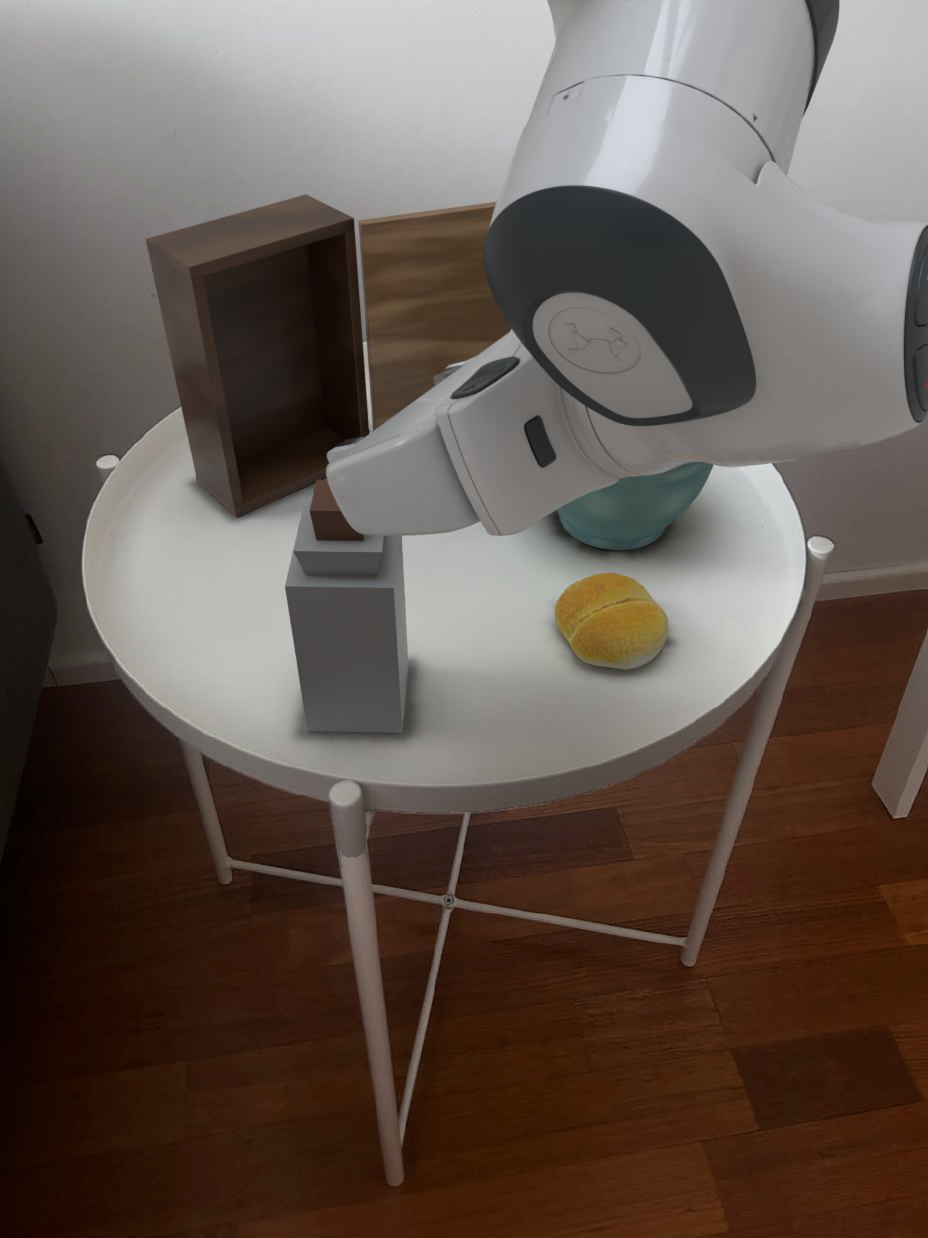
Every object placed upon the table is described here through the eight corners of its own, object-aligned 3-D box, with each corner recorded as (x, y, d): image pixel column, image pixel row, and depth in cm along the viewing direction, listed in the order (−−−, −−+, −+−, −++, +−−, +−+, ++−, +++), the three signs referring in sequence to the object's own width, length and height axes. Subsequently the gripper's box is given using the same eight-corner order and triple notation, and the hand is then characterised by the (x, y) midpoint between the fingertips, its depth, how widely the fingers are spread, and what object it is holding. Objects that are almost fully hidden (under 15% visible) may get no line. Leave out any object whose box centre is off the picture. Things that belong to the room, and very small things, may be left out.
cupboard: (371, 457, 97) (354, 217, 82) (236, 517, 90) (189, 266, 75) (330, 428, 101) (306, 193, 86) (197, 483, 94) (145, 238, 79)
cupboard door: (359, 430, 101) (341, 198, 85) (499, 403, 105) (505, 177, 89) (377, 462, 96) (361, 224, 81) (522, 433, 100) (532, 200, 85)
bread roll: (590, 686, 75) (595, 647, 72) (541, 611, 81) (543, 572, 78) (688, 658, 77) (696, 619, 74) (632, 587, 83) (638, 548, 80)
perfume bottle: (402, 733, 71) (390, 529, 59) (307, 731, 71) (275, 527, 59) (408, 665, 76) (398, 465, 64) (319, 664, 76) (292, 463, 64)
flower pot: (625, 451, 98) (638, 348, 91) (743, 536, 88) (769, 429, 81) (487, 503, 92) (489, 397, 84) (598, 602, 82) (611, 492, 74)
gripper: (671, 242, 52) (478, 297, 62) (433, 424, 40) (241, 455, 50) (706, 356, 55) (516, 391, 65) (492, 557, 43) (299, 563, 53)
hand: (394, 420), depth 57 cm, fingers open, 8 cm apart
